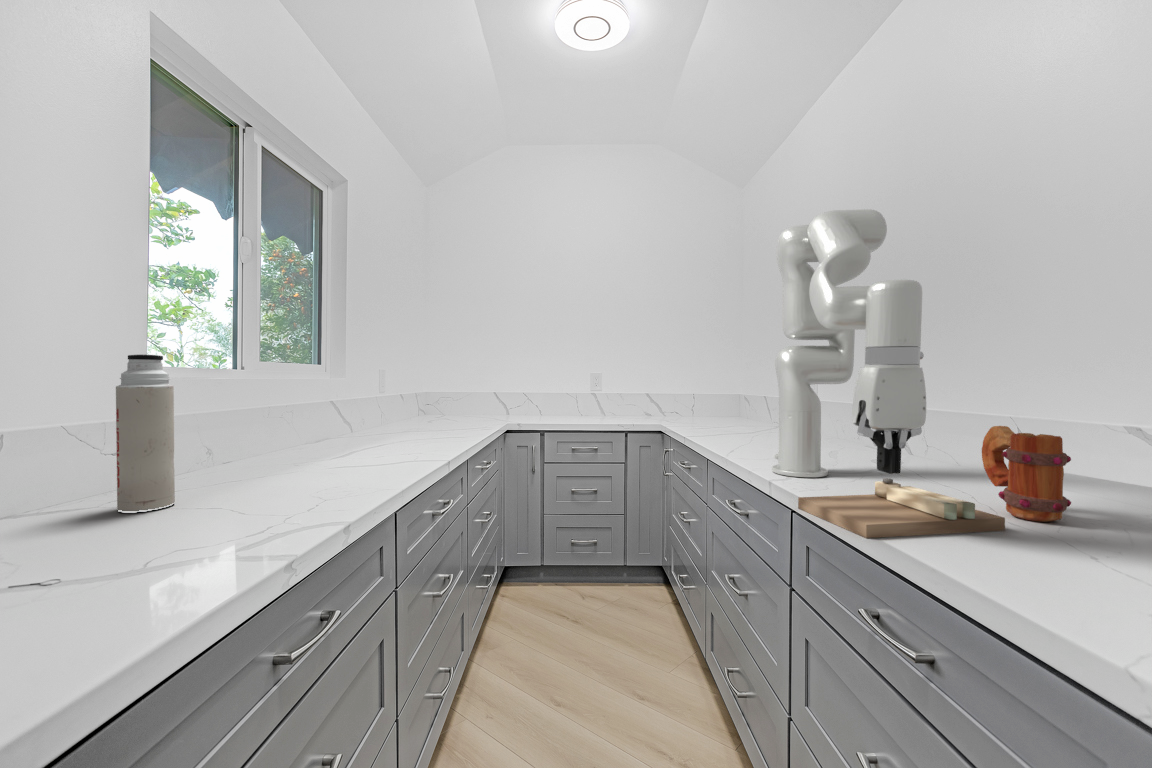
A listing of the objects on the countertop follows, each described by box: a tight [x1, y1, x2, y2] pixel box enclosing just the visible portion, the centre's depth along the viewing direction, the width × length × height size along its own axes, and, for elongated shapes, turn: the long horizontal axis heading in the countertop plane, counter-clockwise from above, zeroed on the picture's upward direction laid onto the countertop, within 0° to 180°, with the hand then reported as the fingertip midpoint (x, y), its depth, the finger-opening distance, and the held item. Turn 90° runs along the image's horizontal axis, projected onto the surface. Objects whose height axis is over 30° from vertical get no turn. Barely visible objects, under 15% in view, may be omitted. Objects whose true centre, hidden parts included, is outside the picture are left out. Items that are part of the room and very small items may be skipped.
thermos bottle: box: [115, 354, 176, 511], centre depth 91 cm, size 8×8×28 cm
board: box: [797, 493, 1006, 539], centre depth 84 cm, size 17×24×2 cm
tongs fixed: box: [882, 477, 976, 519], centre depth 84 cm, size 16×3×3 cm, turn 9°
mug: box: [981, 425, 1072, 523], centre depth 87 cm, size 15×8×15 cm, turn 179°
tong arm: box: [874, 480, 957, 520], centre depth 84 cm, size 17×4×2 cm, turn 7°
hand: (888, 471), depth 81 cm, fingers closed
